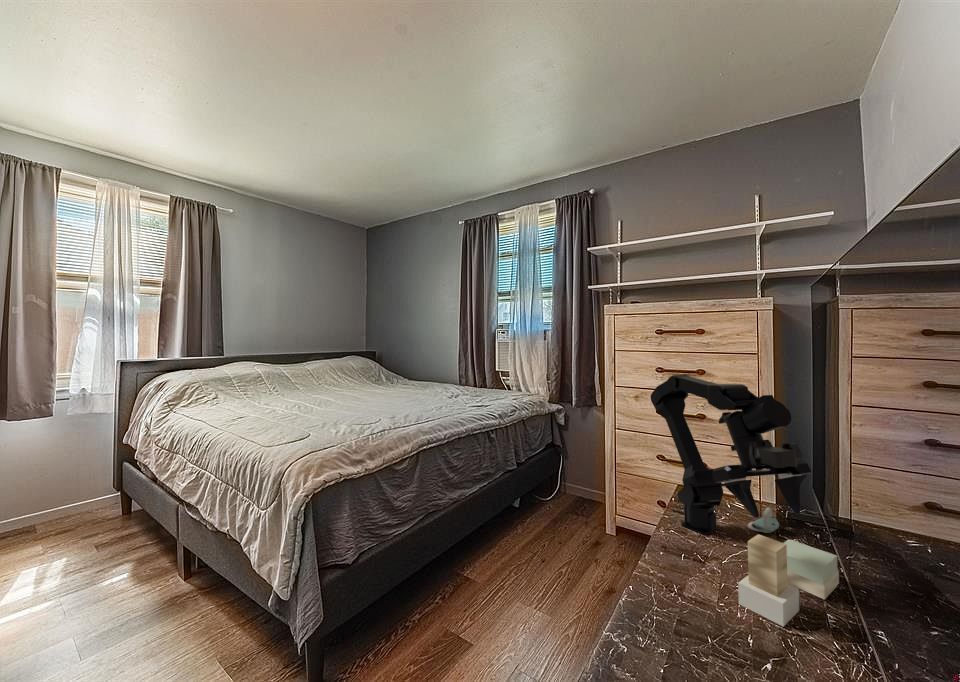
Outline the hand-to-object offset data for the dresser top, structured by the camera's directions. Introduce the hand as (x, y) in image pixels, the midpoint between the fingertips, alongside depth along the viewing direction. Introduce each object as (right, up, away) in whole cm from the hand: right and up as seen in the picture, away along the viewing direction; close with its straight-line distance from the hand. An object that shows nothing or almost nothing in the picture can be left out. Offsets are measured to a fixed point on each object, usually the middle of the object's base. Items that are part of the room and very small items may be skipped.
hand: (777, 515), depth 78 cm
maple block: (-7, -10, -7) cm, 14 cm away
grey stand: (-7, -14, -7) cm, 17 cm away
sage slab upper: (+6, -11, +1) cm, 13 cm away
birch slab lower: (+6, -14, 0) cm, 15 cm away
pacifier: (+13, -14, +22) cm, 29 cm away
